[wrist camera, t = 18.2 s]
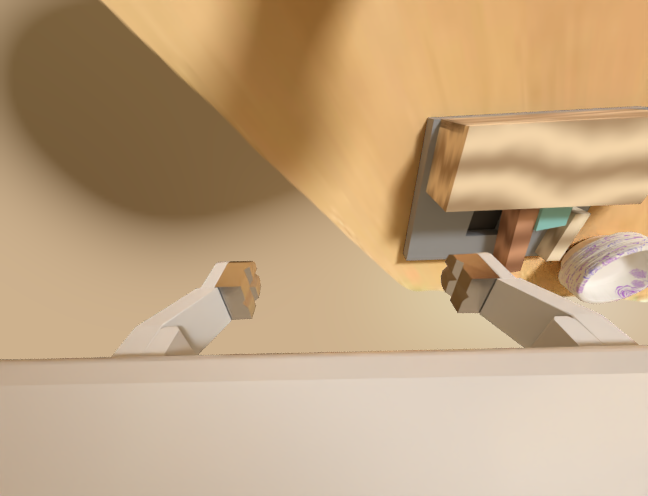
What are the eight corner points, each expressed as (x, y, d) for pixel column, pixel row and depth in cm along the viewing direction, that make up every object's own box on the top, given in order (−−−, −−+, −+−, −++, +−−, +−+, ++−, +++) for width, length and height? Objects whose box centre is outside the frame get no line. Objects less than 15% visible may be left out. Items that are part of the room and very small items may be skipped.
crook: (507, 189, 39) (523, 198, 36) (558, 178, 38) (580, 186, 35) (491, 261, 48) (503, 273, 45) (533, 253, 47) (548, 266, 44)
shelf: (441, 119, 33) (469, 126, 27) (633, 108, 33) (711, 113, 26) (425, 191, 40) (445, 212, 33) (587, 184, 39) (640, 203, 32)
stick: (560, 206, 41) (575, 214, 39) (575, 206, 41) (591, 213, 39) (534, 252, 47) (546, 261, 44) (547, 251, 47) (559, 260, 44)
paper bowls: (596, 280, 55) (633, 306, 48) (532, 279, 55) (561, 305, 48) (649, 223, 46) (702, 246, 40) (573, 222, 46) (615, 244, 39)
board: (427, 117, 36) (434, 119, 34) (636, 106, 35) (655, 107, 33) (403, 253, 50) (406, 260, 48) (548, 248, 49) (558, 255, 47)
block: (523, 196, 40) (543, 207, 36) (551, 190, 40) (575, 200, 36) (517, 218, 43) (535, 231, 39) (544, 213, 42) (565, 225, 38)
